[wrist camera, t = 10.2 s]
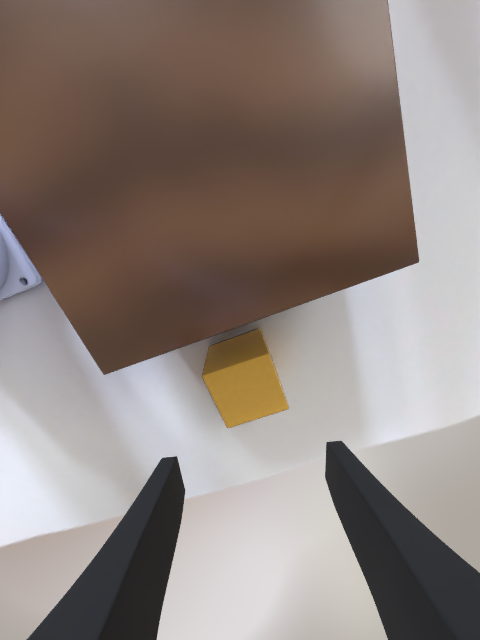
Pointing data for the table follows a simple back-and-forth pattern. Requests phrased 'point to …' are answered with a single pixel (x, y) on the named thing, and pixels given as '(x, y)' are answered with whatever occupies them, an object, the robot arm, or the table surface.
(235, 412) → the mustard block
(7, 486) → the table surface
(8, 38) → the box lid
